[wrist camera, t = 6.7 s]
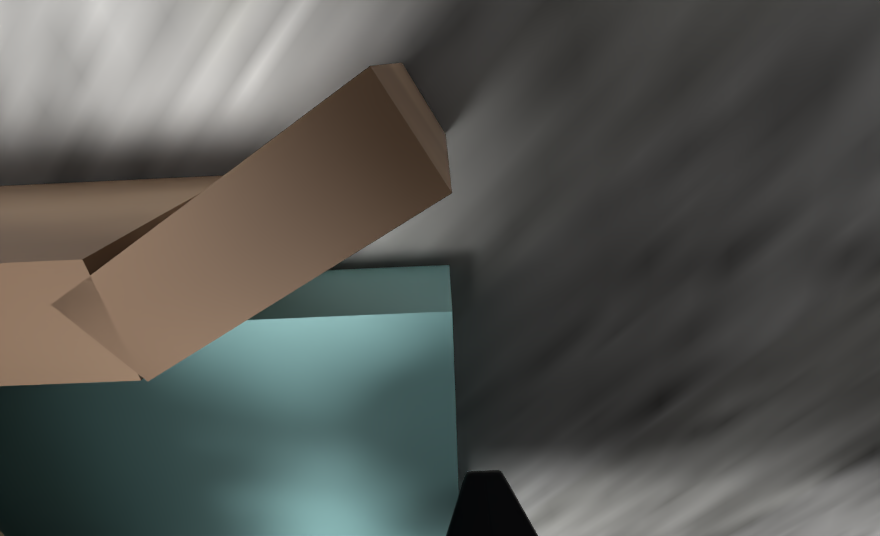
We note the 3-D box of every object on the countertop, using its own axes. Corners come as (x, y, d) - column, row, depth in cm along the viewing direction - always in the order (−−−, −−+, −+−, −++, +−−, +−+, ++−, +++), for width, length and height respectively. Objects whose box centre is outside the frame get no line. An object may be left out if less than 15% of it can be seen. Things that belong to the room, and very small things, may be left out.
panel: (458, 510, 12) (462, 592, 10) (38, 525, 12) (-32, 608, 10) (448, 254, 8) (451, 311, 6) (-160, 281, 8) (-325, 344, 6)
